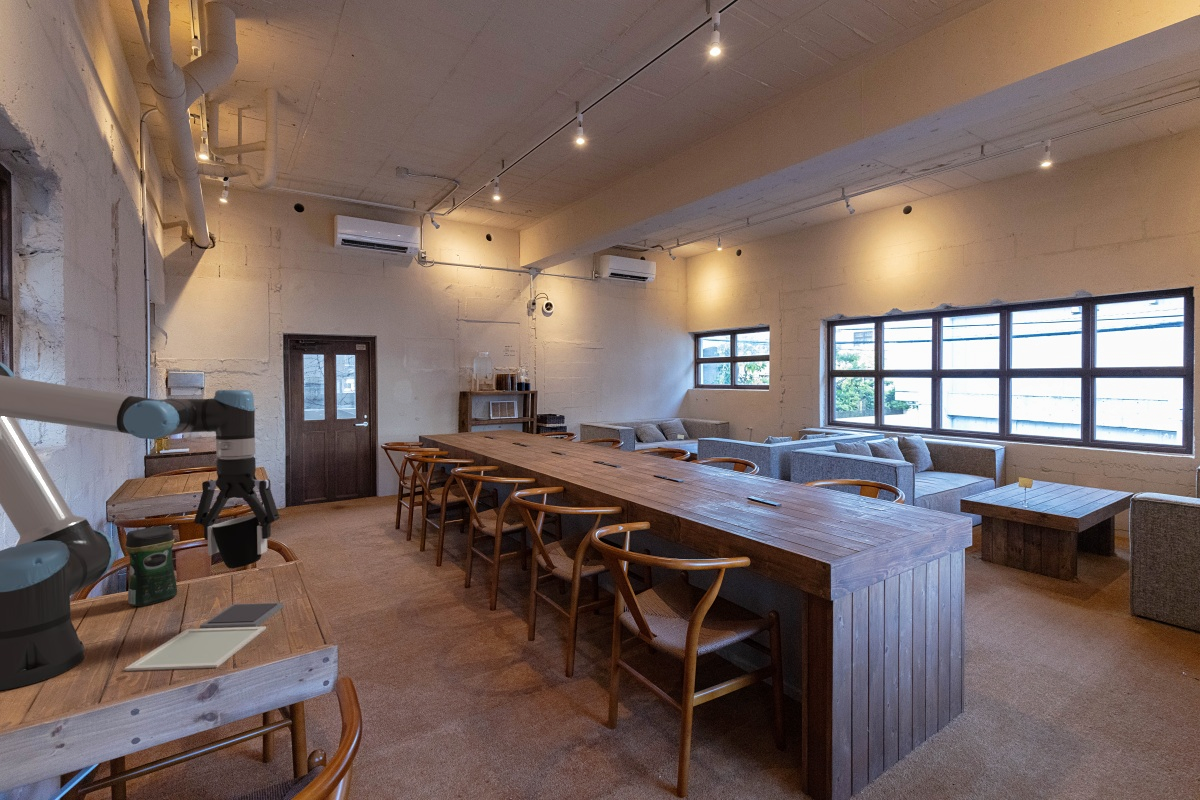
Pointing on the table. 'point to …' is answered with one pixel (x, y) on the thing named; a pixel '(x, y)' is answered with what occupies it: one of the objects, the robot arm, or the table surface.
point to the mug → (237, 541)
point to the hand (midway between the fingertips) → (238, 553)
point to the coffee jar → (151, 565)
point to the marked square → (197, 649)
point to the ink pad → (243, 615)
